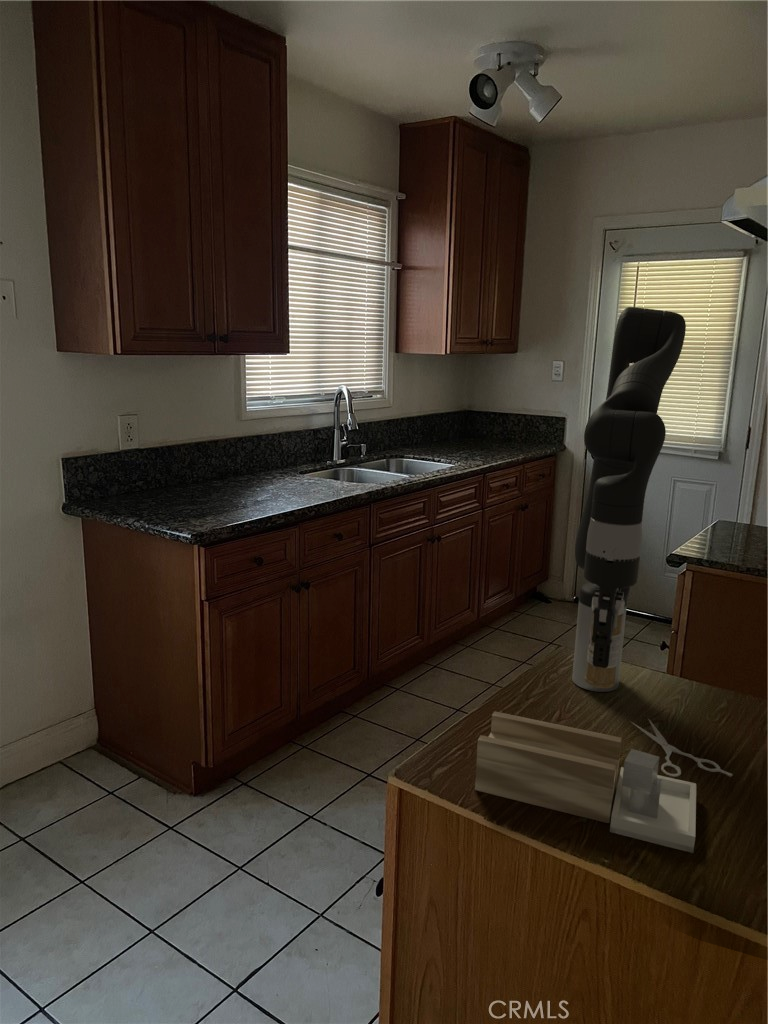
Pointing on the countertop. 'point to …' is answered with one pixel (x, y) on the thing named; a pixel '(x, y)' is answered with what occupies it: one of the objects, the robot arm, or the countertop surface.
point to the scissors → (670, 749)
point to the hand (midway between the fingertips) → (602, 659)
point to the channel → (549, 766)
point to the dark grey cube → (645, 801)
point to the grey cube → (640, 771)
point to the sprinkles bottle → (607, 675)
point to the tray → (659, 815)
